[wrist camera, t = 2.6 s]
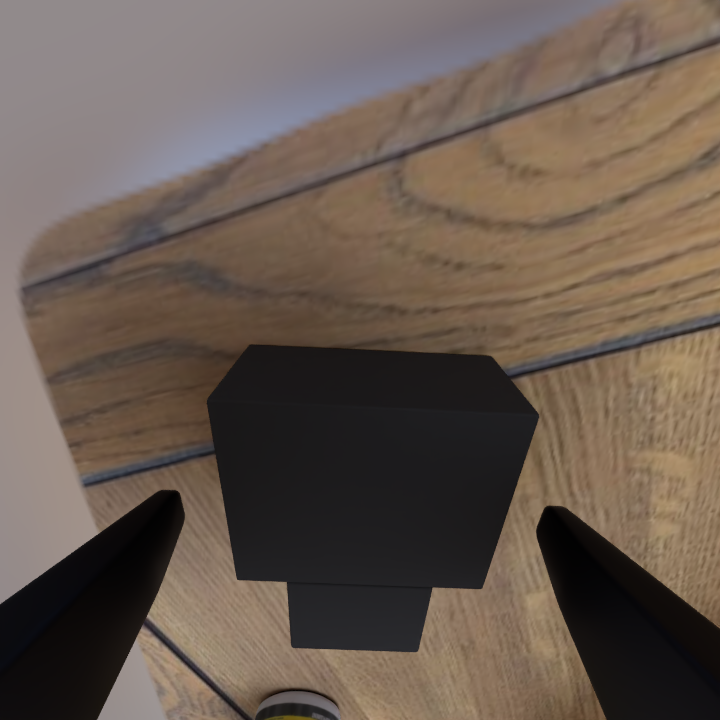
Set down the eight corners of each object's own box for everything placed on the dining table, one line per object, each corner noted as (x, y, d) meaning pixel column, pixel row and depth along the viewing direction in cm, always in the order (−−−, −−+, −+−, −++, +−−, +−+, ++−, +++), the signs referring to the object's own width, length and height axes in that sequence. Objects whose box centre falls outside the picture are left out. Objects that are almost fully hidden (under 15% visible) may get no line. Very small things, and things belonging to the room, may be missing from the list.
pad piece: (270, 559, 14) (247, 647, 11) (249, 343, 10) (204, 399, 7) (441, 566, 14) (461, 655, 11) (492, 355, 10) (541, 414, 7)
